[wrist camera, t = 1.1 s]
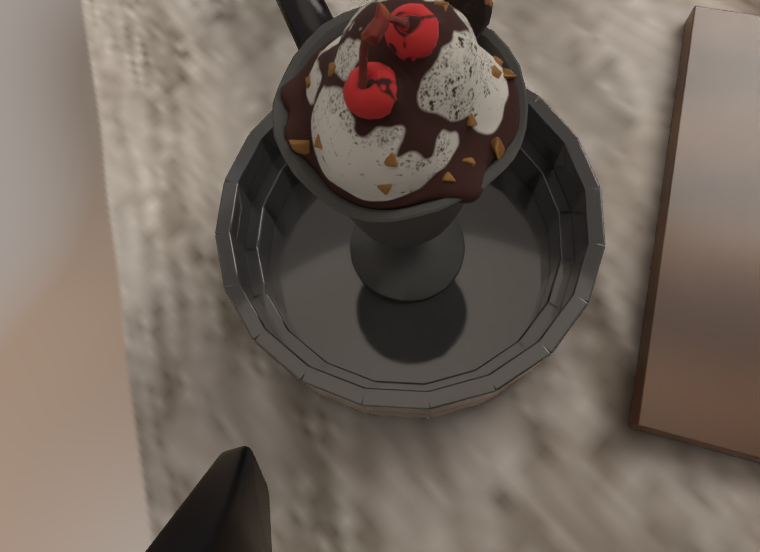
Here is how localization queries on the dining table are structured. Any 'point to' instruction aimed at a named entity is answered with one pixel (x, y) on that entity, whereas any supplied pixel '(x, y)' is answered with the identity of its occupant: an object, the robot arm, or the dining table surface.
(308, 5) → the skillet handle
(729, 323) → the walnut board
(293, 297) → the skillet
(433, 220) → the sundae
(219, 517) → the robot arm
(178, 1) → the dining table surface
